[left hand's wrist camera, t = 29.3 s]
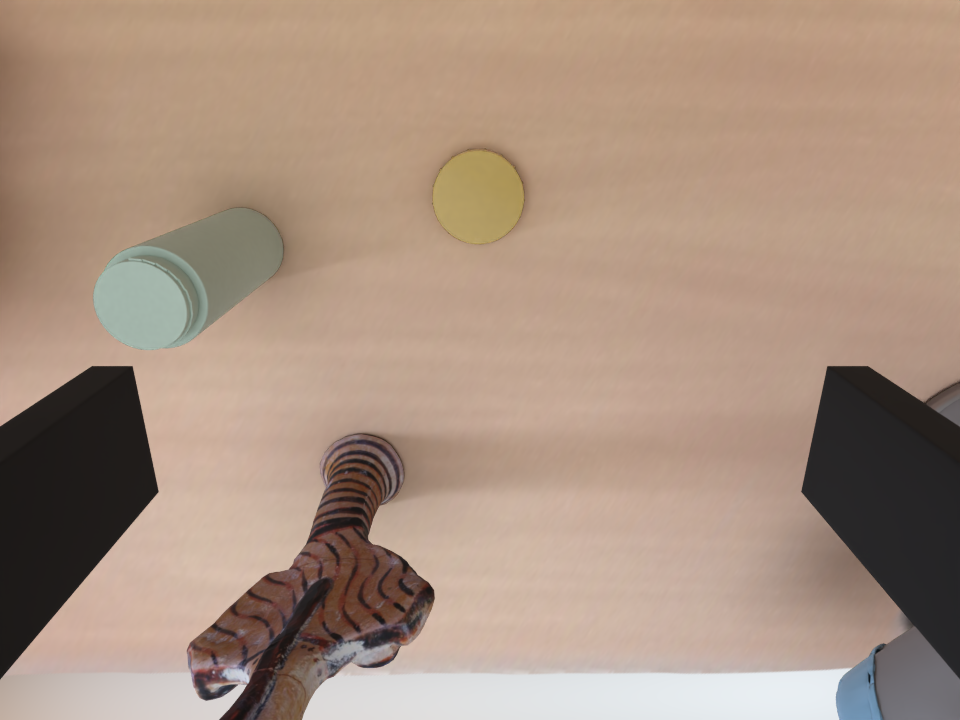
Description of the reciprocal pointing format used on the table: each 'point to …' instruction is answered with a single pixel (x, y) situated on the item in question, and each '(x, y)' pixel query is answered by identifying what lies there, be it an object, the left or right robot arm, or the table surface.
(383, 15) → the table surface
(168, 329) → the jar
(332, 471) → the figurine
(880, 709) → the left robot arm
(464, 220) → the lid
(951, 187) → the table surface
